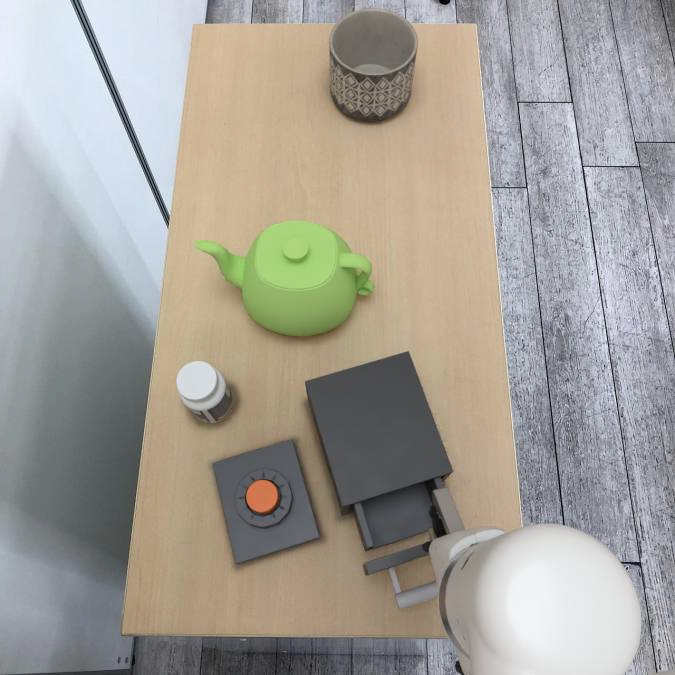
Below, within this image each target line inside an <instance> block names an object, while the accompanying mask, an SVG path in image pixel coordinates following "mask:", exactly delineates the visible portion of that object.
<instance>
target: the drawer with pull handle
mask: <svg viewBox="0 0 675 675" xmlns="http://www.w3.org/2000/svg"><path fill="white" fill-rule="evenodd" d="M444 487H445V485H444V482H442V479H441V477H438V478H435V479H432V480H429V481H425V482H422V483H419V484H416V485H413V486H410V487H406V488H403V489H400V490H397V491H394V492H391V493H387V494H384V495H381V496H378V497H375V498H372V499H368V500H365V501H362V502H359V503H356V504H353V505H351V508H352V511H353V513H352V516H353V518H354V521H355V524H356V527H357V531H358V534H359V538H360V540H361V544H362V548H363V549H364V550H363V552H368V551H371V550H375V549H377V548H381V547H385V546H388V545H390V544H394V543H397V542H400V541H402V540H406V539H409V538H412V537H415V536H418V535H421V534H425V533H427V528H430V527H433V524H432V518H431V517H430V514H429V511H430V506H434V504H433V499H432V490H435V489H439V488H444ZM422 544H423V543H421V544H418V545H414V546H412V547H408V548H406V549H403V550H400V551H397V552H394V553H391V554H388V555H385V556H382V557H379V558H375V559H373V560H369V561H366V562H364V563H363V564H362V569H363V572H364V575H365V576H366V577H367V576H370V575H372V574H376V573H378V572H383V571H385V570H388V573H389V576H390V580H391V584H392V585H393V589H394V592H395V594H394V600H395V602H396V605H397V608H398V610H399V611H401V610H404V609H406V608H407V609H408V608H409V607H412V606H415V605H419V604H421V603H425V602H427V601H430V600H433V599H437V597H438V586H437V582H436V580H434V581H430V582H428V583H425V584H424V583H423V584H422V585H418V586H416V587H412V588H410V589H407V590H404V591H402V589H401V585H400V583H399V580H398V576H397V572H396V570H395V567H397V566H400V565H402V564H407V563H409V562H412V561H415V560H419V559H422V558H424V557H427V556H430V553H429V552H425V550H424V551H423V548H422Z"/></svg>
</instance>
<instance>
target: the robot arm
mask: <svg viewBox="0 0 675 675" xmlns="http://www.w3.org/2000/svg"><path fill="white" fill-rule="evenodd" d="M432 499H433V504H434V506H430V511H429V514H430V517H431V518H432V524H433V527H430V528H427V532H426V534H427V537H428V541H425V542H424V543H421V544H422V548H423V551H424V550H425V552H429V553H430V555H429V558H430V562H431V566H432V570H433V574H434V577H435V581H436V582H437V586H438V597H436V600H437V611H438V617H439V620H440V623H441V626H442V628H443V630H444V632H445V635H446V636H447V638H448V641H449V642H450V643H451V644H452V646H454V649H455V653H456V655H457V659H458V660H456V661H454V662H455V664H454V668H455V672H456V673H458V674H459V675H625V674H626V673H627V672H628V670H629V669H630V668H631V666H632V664H633V662H634V660H635V657H636V655H637V652H638V650H639V646H640V642H641V638H642V626H643V621H642V608H641V604H640V601H639V595H638V593H637V590H636V588H635V586H634V583H633V581H632V578H631V576H630V574H629V573H628V572H627V570H626V568H625V567H624V565H623V563H622V562H621V561H620V560H619V558H618V557H617V556H616V555H615V554H614V552H612V550H610V549H609V548H608V547H607V546H605V544H603V543H602V542H601V541H599V540H598V539H597V538H595V537H594V536H592V535H590V534H588V533H586V532H584V531H582V530H581V529H578V528H575V527H572V526H569V525H565V524H560V523H549V522H548V523H547V522H545V523H535V524H528V525H524V526H520V527H518V528H516V529H512V530H510V531H506V530H504V529H502V528H500V527H497V526H493V525H479V526H474V527H469V528H466V527H465V526H464V523H463V521H462V518H461V516H460V513H459V511H458V508H457V506H456V504H455V501H454V499H453V497H452V493H451V492H450V489H449V487H448V486H444V488H439V489H435V490H432ZM649 675H675V668H672V669H668V670H664V671H659V672H654V673H650V674H649Z"/></svg>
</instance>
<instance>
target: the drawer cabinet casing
mask: <svg viewBox="0 0 675 675" xmlns="http://www.w3.org/2000/svg"><path fill="white" fill-rule="evenodd" d="M304 386H305V392H306V397H307V403H308V406H309V410H310V413H311V416H312V420H313V423H314V427H315V430H316V434H317V436H318V440H319V442H320V447H321V450H322V453H323V457H324V460H325V464H326V467H327V470H328V473H329V477H330V480H331V484H332V487H333V491H334V493H335V497H336V500H337V504H338V507H339V511H340V514H341V516H342V517H345V516H347V515H350V514H353V511H352V508H351V505H353V504H356V503H359V502H362V501H365V500H368V499H372V498H375V497H378V496H381V495H384V494H387V493H391V492H394V491H397V490H400V489H403V488H406V487H410V486H413V485H416V484H419V483H422V482H425V481H429V480H432V479H435V478H438V477H441V479H442V482H443V483H444V482H445V481H446V480H447V479H448V478H449V477H450V476H451V475H452V474H453V473H454V469H453V466H452V464H451V461H450V458H449V456H448V453H447V451H446V450H447V449H446V447H445V445H444V442H443V440H442V439H443V438H442V436H441V435H440V430H439V428H438V425H437V423H436V420H435V418H434V415H433V413H432V410H431V407H430V405H429V402H428V399H427V396H426V394H425V391H424V388H423V386H422V383H421V380H420V377H419V375H418V372H417V369H416V367H415V365H414V362H413V359H412V355H411V353H410V351H409V350H407V351H404V352H400V353H397V354H393V355H390V356H387V357H383V358H380V359H375V360H373V361H369V362H366V363H363V364H360V365H355V366H352V367H349V368H345V369H342V370H338V371H335V372H331V373H328V374H325V375H321V376H318V377H315V378H314V377H313V378H312V379H311V378H310V379H308V380H305V381H304Z"/></svg>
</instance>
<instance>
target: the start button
mask: <svg viewBox="0 0 675 675" xmlns="http://www.w3.org/2000/svg"><path fill="white" fill-rule="evenodd" d="M246 500H247V503H248V505H249V507H250V508H251V509H253V510H254V511H255V512H257V513H260V514H266V513H269V512H271V511H272V510H274V509H275V508H276V506H277V504H278V502H279V493H278V490H277V488H276V487H275V485H274V484H273V483H271V482H270V481H267V480H258V481H256V482H254V483H252V484H251V485H250V487H249V488H248V490H247V493H246Z"/></svg>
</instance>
